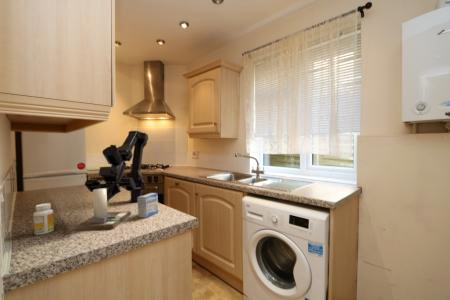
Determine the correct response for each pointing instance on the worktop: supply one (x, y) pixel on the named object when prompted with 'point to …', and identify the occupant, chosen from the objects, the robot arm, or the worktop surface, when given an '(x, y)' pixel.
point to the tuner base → (107, 225)
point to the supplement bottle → (43, 219)
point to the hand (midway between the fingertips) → (103, 202)
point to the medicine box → (147, 205)
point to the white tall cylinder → (100, 206)
